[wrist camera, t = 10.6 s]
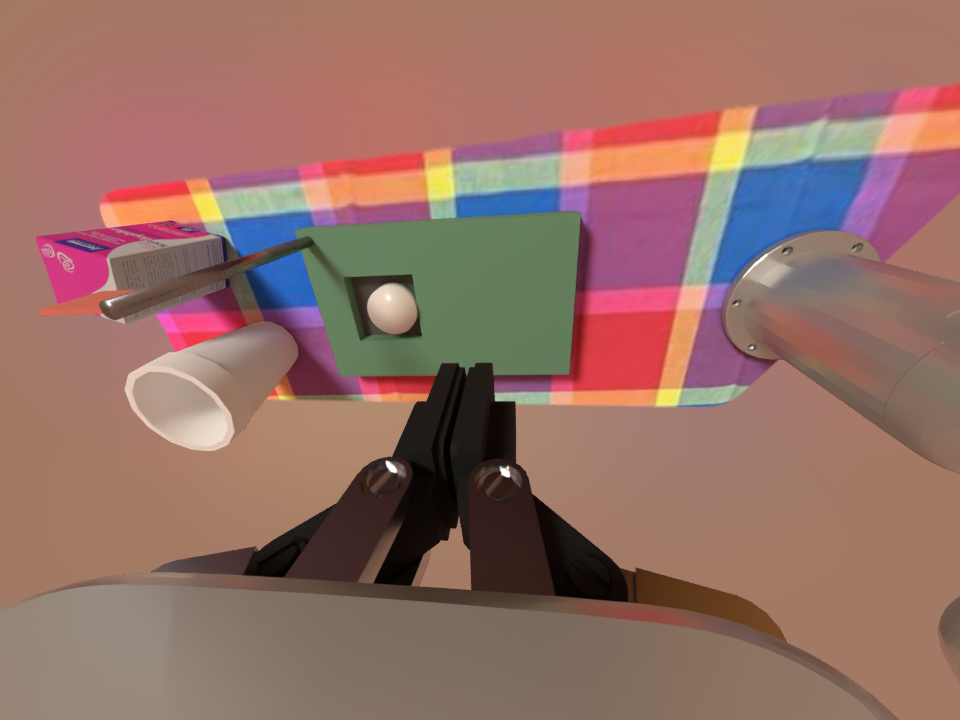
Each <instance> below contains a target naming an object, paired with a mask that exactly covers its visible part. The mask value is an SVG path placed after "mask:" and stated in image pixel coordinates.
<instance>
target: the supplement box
mask: <svg viewBox="0 0 960 720" xmlns="http://www.w3.org/2000/svg"><path fill="white" fill-rule="evenodd" d="M36 241H37V245H38V248H39V250H40V253H41V255H42V258H43V261H44V264H45V267H46V269H47V272H48V275H49V278H50V281H51V284H52V287H53V290H54V293H55V297H56V300H57V303H58V304H60V303H63V302H67V301H70V300H74V299H77V298H80V297H84V296H87V295H91V294H94V293H97V292H101V291H117V290H138V289H141V288H144V287H147V286H150V285H154V284H157V283H160V282H163V281H166V280H169V279H172V278H176V277H179V276H182V275H185V274H188V273H191V272H194V271H198V270H201V269H204V268H207V267H210V266H213V265H217V264H220V263H223V262H226V261H227V252H226V242H225V238H224V237H223V236H219V235H215V234H211V233H208V232H204V231H201V230H198V229H195V228H191V227H188V226H185V225H182V224H179V223H177V222H174V221H163V222H155V223H147V224H138V225H130V226H122V227H113V228H105V229H97V230H88V231H80V232H71V233H63V234H54V235H46V236H37V237H36ZM227 287H229V278H227V279H225V280H222V281H219V282H217V283H214V284H211V285H209V286H206V287H203V288H201V289H198V290H195V291H193V292H190V293H188V294H185V295H182V296H180V297H177V298H174V299H172V300H169V301H166V302H164V303H161V304H158V305H156V306H153V307H150V308H148V309H145V310H143V311H140V312H137V313H135V314H132V315H129V316H127V317H124V318H121V319H119V320H113V321H117V322H120V323H124V324H129V323H132V322H135V321H138V320H140V319H143V318H145V317H148V316H151V315H154V314H156V313H159V312H162V311H165V310H167V309H170V308H173V307H175V306H178V305H181V304H183V303H186V302H189V301H192V300H194V299H197V298H200V297H202V296H205V295H208V294H210V293H213V292H216V291H219V290H221V289H224V288H227ZM93 315H96V316H100V317H103V318H106V319H110V318H108V317H106V316H105V315H104V314H93ZM110 320H112V319H110Z"/></svg>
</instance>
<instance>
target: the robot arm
mask: <svg viewBox="0 0 960 720" xmlns="http://www.w3.org/2000/svg"><path fill="white" fill-rule="evenodd" d="M721 318H722V326H723V329H724V331H725V334H726V335H727V337H728V338H729V340H730V341H731V342H732V343H733V344H734V345H735V346H736V347H738V348H739V349H740V350H742V351H743V352H745V353H746V354H748V355H751V356H754V357H757V358H762V359H769V360H781V359H782V360H783V359H784V360H785V361H787V362H788V363H789V364H791V365H792V366H793V367H795V368H796V369H798V370H799V371H800V372H802V373H803V374H805V375H806V376H807V377H809V378H810V379H812V380H813V381H815V382H816V383H817V384H819V385H820V386H822V387H823V388H824V389H826V390H827V391H829V392H830V393H831V394H833V395H834V396H836V397H837V398H839V399H840V400H841V401H843V402H844V403H846V404H847V405H848V406H850V407H851V408H853V409H854V410H855V411H857V412H858V413H860V414H861V415H862V416H864V417H865V418H867V419H868V420H870V421H871V422H872V423H874V424H875V425H876V426H878V427H879V428H881V429H882V430H884V431H885V432H886V433H888V434H889V435H891V436H892V437H894V438H895V439H897V440H898V441H899V442H901V443H902V444H904V445H905V446H907V447H908V448H909V449H911V450H912V451H914V452H915V453H917V454H918V455H920V456H922V457H923V458H925V459H927V460H928V461H930V462H932V463H934V464H936V465H938V466H940V467H942V468H945V469H948V470H950V471H953V472H955V473H958V474H960V282H957V281H953V280H949V279H945V278H941V277H937V276H933V275H929V274H925V273H921V272H917V271H913V270H909V269H905V268H901V267H897V266H893V265H890V264H886V263H882V262H881V259H880V257H879V255H878V252H877V250H876V249H875V248H874V247H873V246H872V245H871V244H870V243H869V242H868V241H867V240H865V239H864V238H862V237H860V236H858V235H856V234H852V233H848V232H844V231H837V230H830V229H825V230H812V231H807V232H803V233H798V234H796V235H793V236H790V237H788V238H785V239H782V240H781V241H779V242H777V243H775V244H773V245H771V246H770V247H768V248H766V249H765V250H764V251H762V252H761V253H759V254H758V255H757V256H755V257H754V258H753V259H752V260H751V261H750V262H749V263H748V264H747V265H746V266H745V267H744V268H743V269H742V270H741V271H740V272H739V274H738V275H737V276H736V278H735V279H734V280H733V282H732V284H731V285H730V287H729V289H728V291H727V293H726V296H725V299H724V302H723V305H722V313H721ZM459 517H460V523H461V528H462V535H463V542H464V544H465V545H466V546H467V548H468V549H469V550H470V566H471V568H470V569H471V590H462V589H447V588H433V587H420V584H421V581H422V579H423V576H424V573H425V571H426V568H427V565H428V563H429V559H430V555H431V551H430V549H431V548H433V547H434V546H435V545H436V544H438V543H439V542H440V540H445V541H447V540H448V538H449V533H450V528H456V527H457V523H458V518H459ZM938 635H939V642H940V646H941V649H942V652H943V654H944V657H945V658H946V660H947V662H948V664H949V666H950V668H951V669H952V671H953V673H954V675H955V676H956V678H957V679H958V680H959V682H960V596H959V597H958V598H956V599H955V600H954V601H952V603H951V604H950V605H949V606H948V607H947V608H946V609H945V611H944V612H943V614H942V616H941V618H940V622H939V626H938ZM0 720H899V719H898V718H897V717H896V716H895V715H894V714H893V713H892V712H890V711H889V710H888V709H887V708H886V707H885V706H884V705H883V704H882V703H881V702H880V701H879V700H878V699H877V698H875V697H874V696H873V695H872V694H871V693H869V692H868V691H867V690H865V689H864V688H863V687H862V686H860V685H859V684H858V683H856V682H855V681H853V680H852V679H850V678H849V677H848V676H846V675H845V674H843V673H841V672H840V671H838V670H837V669H835V668H833V667H832V666H830V665H828V664H827V663H825V662H823V661H821V660H820V659H818V658H816V657H814V656H813V655H811V654H809V653H807V652H805V651H803V650H801V649H799V648H797V647H795V646H793V645H791V644H789V643H787V641H786V639H785V637H784V635H783V633H782V631H781V629H780V628H779V627H778V625H777V624H776V623H775V622H774V621H773V620H772V619H771V617H770V616H769V615H768V614H767V613H766V612H764V611H763V610H762V609H760V608H759V607H758V606H756V605H755V604H754V603H752V602H751V601H748V600H746V599H743V598H741V597H739V596H737V595H733V594H730V593H726V592H723V591H719V590H715V589H712V588H708V587H705V586H701V585H697V584H694V583H690V582H687V581H683V580H679V579H676V578H672V577H669V576H665V575H661V574H658V573H654V572H651V571H647V570H643V569H639V568H635V571H634V572H633V571H629V570H625V569H621V568H619V567H618V566H617V565H616V564H615V563H614V562H613V561H612V559H611V558H610V557H608V556H607V555H606V554H605V553H604V552H602V551H601V550H600V549H599V548H598V547H596V546H595V545H594V544H592V543H591V542H590V541H589V540H588V539H587V538H585V537H584V536H583V535H582V534H581V533H579V532H578V531H577V530H576V529H574V528H573V527H572V526H571V525H570V524H568V523H567V522H566V521H565V520H563V519H562V518H561V517H560V516H559V515H557V514H556V513H555V512H554V511H552V510H551V509H550V508H549V507H548V506H546V505H545V504H544V503H543V502H542V501H540V500H539V499H538V498H537V497H536V496H534V495H533V494H532V491H531V486H530V482H529V478H528V476H527V473H526V471H525V470H524V469H523V468H522V467H521V466H520V465H518V464H517V463H516V408H515V401H495V395H494V378H493V364H492V363H475V367H469V370H468V374H467V378H466V370H465V367H460V366H459V363H442V364H441V366H440V368H439V371H438V373H437V376H436V379H435V381H434V384H433V386H432V389H431V391H430V394H429V396H428V399H427V401H418V402H416V404H415V406H414V408H413V410H412V412H411V415H410V417H409V419H408V422H407V424H406V426H405V428H404V431H403V433H402V435H401V437H400V440H399V442H398V444H397V447H396V449H395V451H394V454H393V456H392V457H385V458H380V459H377V460H375V461H373V462H371V463H369V464H368V465H366V466H365V467H363V468H362V470H361V471H360V472H359V473H358V474H357V475H356V477H355V478H354V480H353V481H352V482H351V484H350V485H349V487H348V488H347V489H346V491H345V492H344V494H343V495H342V497H341V498H340V499H339V501H338V502H337V503H336V504H334V505H333V506H331V507H329V508H327V509H326V510H324V511H322V512H321V513H319V514H317V515H316V516H314V517H312V518H310V519H309V520H307V521H305V522H304V523H302V524H300V525H298V526H297V527H295V528H293V529H291V530H290V531H288V532H286V533H285V534H283V535H281V536H279V537H278V538H276V539H274V540H273V541H271V542H270V543H269V544H267V545H266V546H264V547H263V548H262V549H261V550H260V551H259V550H258V549H257V548H256V546H255V547H249V548H244V549H238V550H232V551H227V552H221V553H215V554H210V555H204V556H198V557H192V558H187V559H181V560H176V561H172V562H169V563H167V564H164V565H162V566H160V567H158V568H157V569H155V570H153V571H151V572H149V573H131V574H122V575H114V576H107V577H101V578H96V579H91V580H86V581H81V582H77V583H73V584H70V585H67V586H63V587H60V588H56V589H53V590H49V591H46V592H43V593H40V594H37V595H35V596H32V597H29V598H27V599H24V600H22V601H20V602H17V603H15V604H13V605H10V606H8V607H6V608H4V609H1V610H0Z"/></svg>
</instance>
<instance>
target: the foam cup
mask: <svg viewBox="0 0 960 720" xmlns="http://www.w3.org/2000/svg"><path fill="white" fill-rule="evenodd" d="M297 358H298V345H297V343H296V342H295V340H294V338H293V336H292V335H291V334H290V333H289V332H288V331H287V330H285V329H284V328H283V327H282V326H280V325H277V324H275V323H273V322H267V321H259V322H257V323H253V324H250V325H247V326H245V327H242V328H239V329H237V330H234V331H231V332H229V333H226V334H223V335H221V336H218V337H215V338H213V339H210V340H207V341H205V342H202V343H199V344H197V345H194V346H191V347H188V348H186V349H183V350H180V351H178V352H169V353H167V354H165V355H163V356H161V357H159V358H157V359H155V360H153V361H152V362H150V363H148V364H146V365H144V366H142V367H140V368H139V369H137V370H135V371H133V372H132V373H130V374H129V375H128V378H127V383H126V387H125V392H126V395H127V397H128V400H129V402H130V405H131V408H132V409H133V411H134V412H135V413H136V414H137V415H138V416H139V417H140V418H141V419H142V421H143V422H144V423H145V424H146V425H147V426H148V427H149V428H150V429H152V430H153V431H155V432H156V433H158V434H160V435H161V436H162V437H164V438H165V439H167V440H168V441H170V442H173V443H175V444H178V445H181V446H184V447H187V448H189V449H192V450H205V451H214V450H217V449H219V448H222V447H224V446H227V445H228V444H229V443H230V442H231V441H232V440H234V438H236V437H237V436H238V435H239V434H240V433H241V432H242V431H243V430H244V429H245V428H246V426H247V424H248V423H249V421H250V419H251V417H252V416H253V415H254V413H255V412H256V411H257V410H258V408H259V407H260V406H261V404H262V403H263V402H264V401H265V400H266V398H267V397H268V396H269V395H270V393H271V392H272V391H273V390H274V388H275V387H276V386H277V385H278V383H279V382H280V381H281V380H282V378H283V377H284V376H285V375H286V373H287V372H288V371H289V370H290V368H291V367H292V365H293V364H294V363H295V361H296V359H297Z"/></svg>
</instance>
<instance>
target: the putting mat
mask: <svg viewBox="0 0 960 720" xmlns="http://www.w3.org/2000/svg"><path fill="white" fill-rule="evenodd" d="M580 219H581V213H579V212H578V211H562V212H545V213H529V214H513V215H497V216H480V217H464V218H448V219H432V220H415V221H399V222H383V223H367V224H350V225H334V226H318V227H307V228H304V229H300V230H297V231H295V233H296V236H297V239H295V240H292V241H289V242H286V243H283V244H280V245H276V246H273V247H270V248H267V249H264V250H261V251H257V252H254V253H251V254H248V255H245V256H242V257H239V258H235V259H232V260H229V261H226V262H223V263H220V264H217V265H213V266H210V267H207V268H204V269H201V270H198V271H194V272H191V273H188V274H185V275H182V276H179V277H176V278H172V279H169V280H166V281H163V282H160V283H157V284H154V285H150V286H147V287H144V288H141V289H138V290H117V291H101V292H97V293H94V294H91V295H87V296H84V297H80V298H77V299H74V300H70V301H67V302H63V303H60V304H57V305H53V306H50V307H47V308H43V309H40V310H38V311H39V313H40V314H41V315H42V316H49V315H78V314H104V315H105V316H106V317H108V318H110V319H112V320H119V319H121V318H124V317H127V316H129V315H132V314H135V313H137V312H140V311H143V310H145V309H148V308H150V307H153V306H156V305H158V304H161V303H164V302H166V301H169V300H172V299H174V298H177V297H180V296H182V295H185V294H188V293H190V292H193V291H195V290H198V289H201V288H203V287H206V286H209V285H211V284H214V283H217V282H219V281H222V280H225V279H227V278H230V277H233V276H235V275H238V274H240V273H243V272H246V271H248V270H251V269H254V268H256V267H259V266H262V265H264V264H267V263H270V262H272V261H275V260H278V259H280V258H283V257H285V256H288V255H291V254H293V253H296V252H299V251H301V252H302V255H303V258H304V262H305V265H306V268H307V271H308V274H309V278H310V281H311V284H312V287H313V290H314V293H315V297H316V300H317V303H318V306H319V309H320V313H321V316H322V319H323V322H324V325H325V328H326V332H327V335H328V338H329V341H330V344H331V348H332V351H333V354H334V357H335V360H336V364H337V367H338V370H339V373H340V376H437V373H438V371H439V368H440V366H441V364H442V363H459V366H460V367H465V370H466V375H467V374H468V370H469V367H475V363H492V364H493V375H569V372H570V358H571V344H572V331H573V317H574V303H575V289H576V275H577V261H578V247H579V233H580ZM388 282H401V283H404V284H406V285H408V286H409V287H411V288H412V289H413V290H414V291H415V295H416V302H417V308H418V314H419V317H418V318H417V320H416V321H415V323H414V324H413V326H412V327H411V328H410V329H409V330H408V331H406V332H404V333H401V334H390V333H387V332H384V331H382V330H381V329H379V328H378V327H377V326H376V325H375V324H374V323H373V322H372V321H371V319H370V317H369V314H368V310H367V304H368V300H369V298H370V296H371V294H372V293H373V292H374V291H376V290H377V289H378V288H379V287H380V286H382V285H383V284H385V283H388Z"/></svg>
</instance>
